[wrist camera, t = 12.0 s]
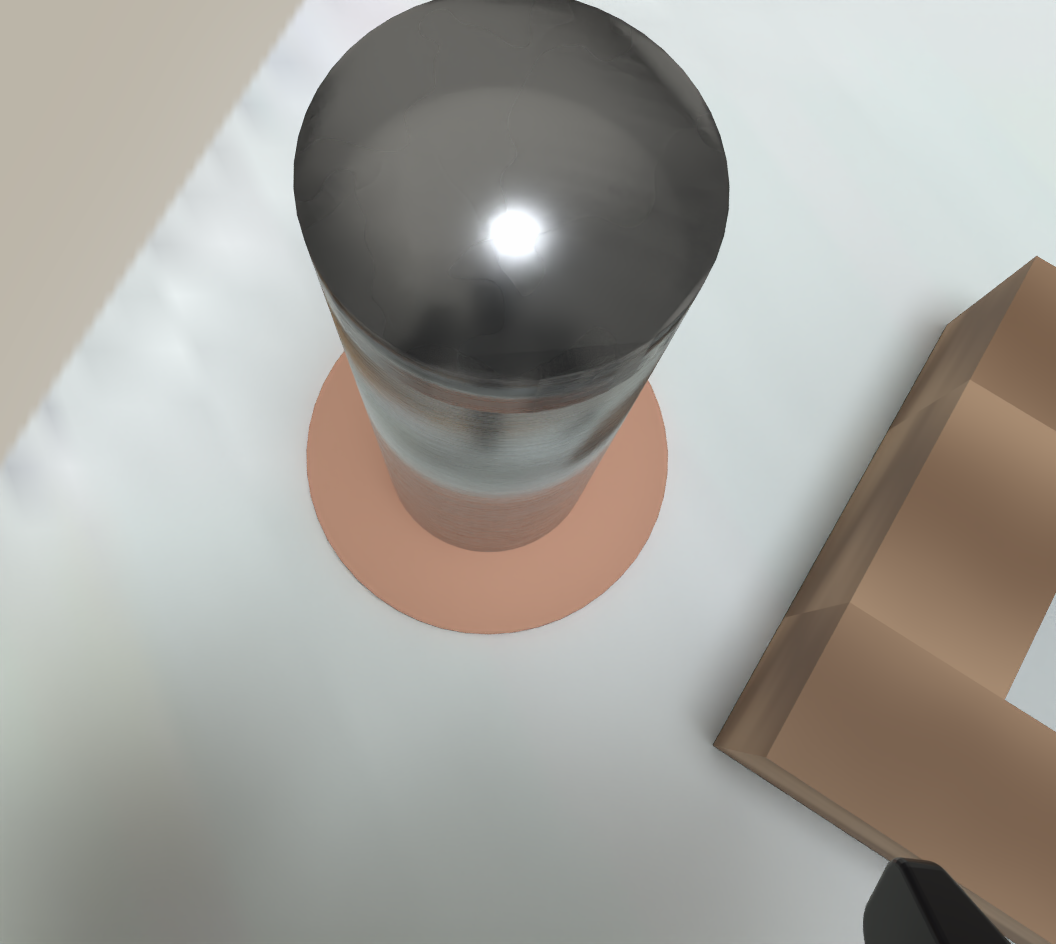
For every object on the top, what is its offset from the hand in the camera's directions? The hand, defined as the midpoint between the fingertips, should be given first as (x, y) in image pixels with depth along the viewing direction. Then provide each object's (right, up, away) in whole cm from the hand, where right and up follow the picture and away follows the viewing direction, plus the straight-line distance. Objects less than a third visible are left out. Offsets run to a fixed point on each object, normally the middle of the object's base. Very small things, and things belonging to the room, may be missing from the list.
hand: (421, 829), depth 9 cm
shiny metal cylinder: (0, +4, +14) cm, 14 cm away
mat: (0, +4, +14) cm, 15 cm away
